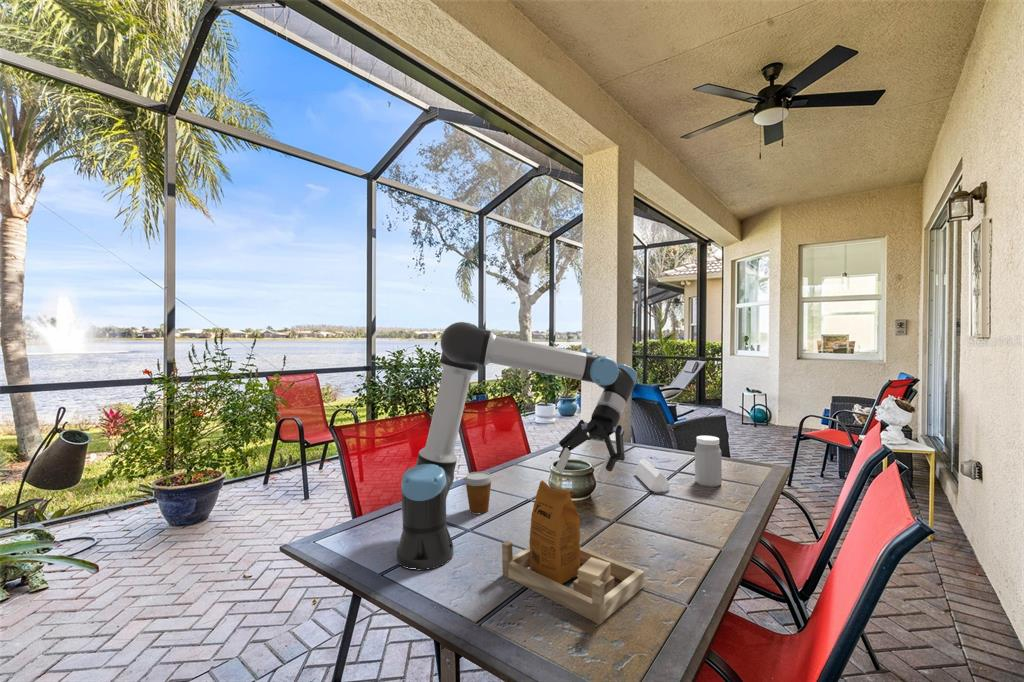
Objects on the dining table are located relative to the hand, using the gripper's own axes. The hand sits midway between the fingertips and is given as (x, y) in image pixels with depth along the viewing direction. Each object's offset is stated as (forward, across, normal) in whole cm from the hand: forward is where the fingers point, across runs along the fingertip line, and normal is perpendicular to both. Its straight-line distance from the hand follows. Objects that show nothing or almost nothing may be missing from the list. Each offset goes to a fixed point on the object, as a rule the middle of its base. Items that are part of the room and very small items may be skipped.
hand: (578, 475), depth 121 cm
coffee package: (+23, 0, -8) cm, 25 cm away
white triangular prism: (-32, +14, -64) cm, 73 cm away
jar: (-42, -3, -73) cm, 84 cm away
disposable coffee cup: (+13, +44, -18) cm, 49 cm away
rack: (+23, -5, -8) cm, 25 cm away
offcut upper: (+21, -12, -6) cm, 25 cm away
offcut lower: (+23, -12, -8) cm, 27 cm away
